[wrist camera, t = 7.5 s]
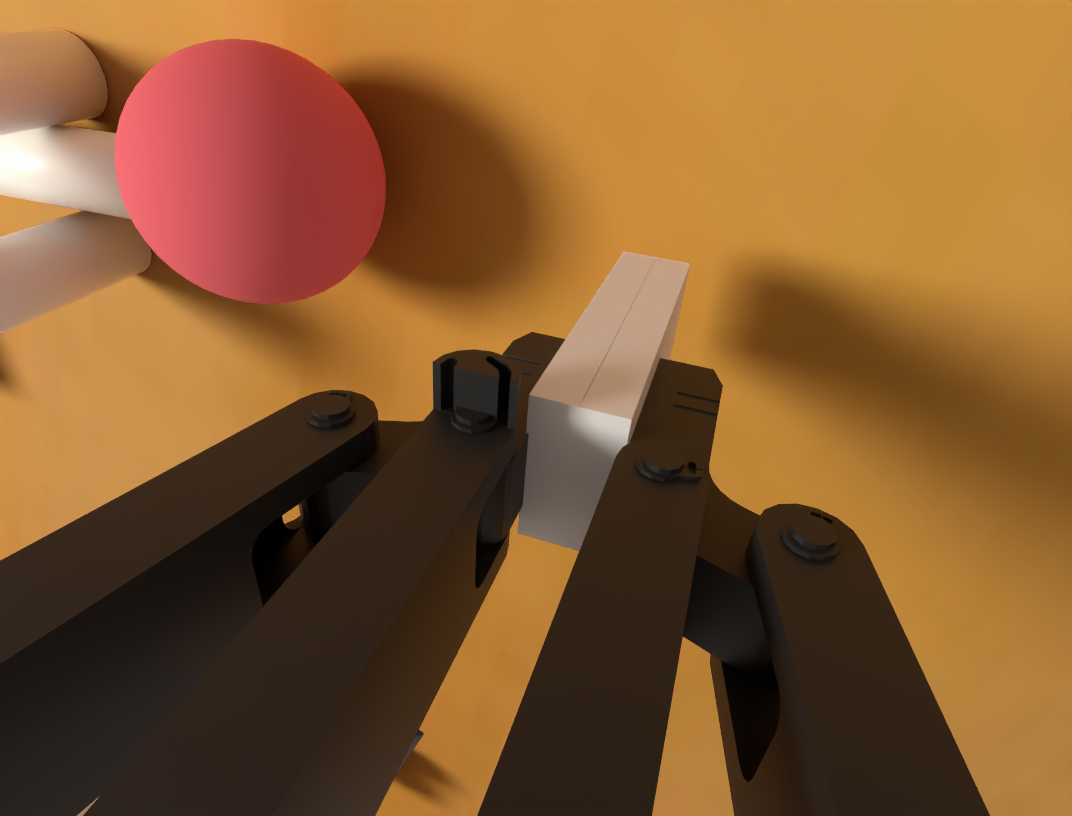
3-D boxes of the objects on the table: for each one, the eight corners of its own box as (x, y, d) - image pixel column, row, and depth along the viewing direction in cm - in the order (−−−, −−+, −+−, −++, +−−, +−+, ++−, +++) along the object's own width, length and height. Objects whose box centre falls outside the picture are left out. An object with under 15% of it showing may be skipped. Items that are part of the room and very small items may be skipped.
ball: (116, 18, 16) (361, 84, 19) (116, 265, 18) (340, 288, 21) (109, -24, 11) (437, 74, 14) (111, 320, 13) (402, 338, 16)
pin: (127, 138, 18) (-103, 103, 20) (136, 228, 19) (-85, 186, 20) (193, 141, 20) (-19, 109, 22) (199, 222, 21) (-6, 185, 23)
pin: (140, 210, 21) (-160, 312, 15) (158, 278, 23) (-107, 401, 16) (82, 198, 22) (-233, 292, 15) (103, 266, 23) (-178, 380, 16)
